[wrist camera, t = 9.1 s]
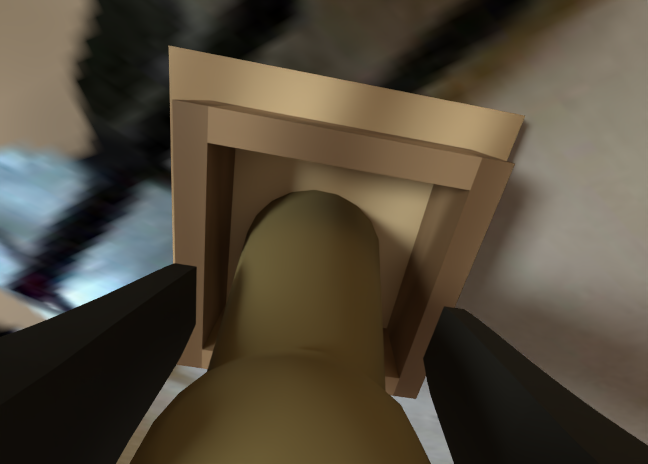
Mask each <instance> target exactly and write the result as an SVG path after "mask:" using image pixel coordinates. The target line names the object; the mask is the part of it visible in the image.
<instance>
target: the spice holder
mask: <svg viewBox="0 0 648 464" xmlns="http://www.w3.org/2000/svg"><path fill="white" fill-rule="evenodd" d="M169 76H170V126H171V175H172V225H173V264H174V263H178V264H184V265H190V266H197V287H196V325H195V328H194V330H193V332H192V334H191V336H190V339H189V341H188V343H187V345H186V347H185V349H184V351H183V354H182V356H181V358H180V359H179V361H178V363H177V365H183V366H190V367H197V368H204V369H208V366H209V363H210V359H211V356H212V352H213V349H214V346H215V342H216V339H217V335H218V332H219V328H220V325H221V321H222V318H223V314H224V311H225V308H226V304H227V301H228V297H229V294H230V290H231V287H232V283H233V280H234V276H235V273H236V269H237V266H238V263H239V259H240V256H241V252H242V249H243V245H244V242H245V238H246V235H247V232H248V230H249V228H250V226H251V224H252V222H253V220H254V218H255V217H256V215H257V214H258V213H259V212H260V211H261V210H262V209H263V208H265V207H266V206H267V205H268V204H269V203H270V202H271V201H273V200H275V199H277V198H279V197H282V196H284V195H286V194H289V193H291V192H297V191H307V190H319V191H323V192H328V193H333V194H338V195H339V196H341V197H343V198H345V199H346V200H348V201H350V202H352V203H353V204H355V205H357V206H358V207H359V208H360V210H361V211H362V212H363V213H364V214H365V215H366V216H367V217H368V218H369V220H370V221H371V222H372V225H373V227H374V230H375V232H376V234H377V237H378V239H379V257H380V279H381V301H382V323H383V345H384V367H385V389H386V392H387V393H388V394H389V395H392V396H399V397H406V398H413V399H416V398H417V395H418V393H419V391H420V388H421V386H422V384H423V381H424V379H425V376H426V372H425V367H424V361H423V357H424V355H425V352H426V350H427V347H428V345H429V342H430V340H431V337H432V335H433V332H434V330H435V327H436V325H437V322H438V320H439V317H440V315H441V312H442V310H443V307H444V306H446V307H452V308H455V305H456V303H457V300H458V298H459V296H460V293H461V291H462V289H463V286H464V284H465V281H466V279H467V277H468V274H469V272H470V270H471V267H472V265H473V262H474V260H475V258H476V255H477V253H478V250H479V248H480V246H481V243H482V241H483V239H484V236H485V234H486V231H487V229H488V227H489V224H490V222H491V220H492V217H493V215H494V212H495V210H496V208H497V205H498V203H499V201H500V198H501V196H502V193H503V191H504V189H505V186H506V184H507V182H508V179H509V177H510V174H511V172H512V170H513V167H514V165H515V164H514V163H511V162H508V161H507V159H508V157H509V154H510V152H511V149H512V147H513V144H514V142H515V139H516V137H517V135H518V132H519V130H520V127H521V125H522V122H523V120H524V117H525V116H523V115H518V114H513V113H508V112H503V111H498V110H493V109H488V108H483V107H478V106H473V105H468V104H462V103H457V102H452V101H447V100H442V99H437V98H432V97H427V96H422V95H417V94H412V93H407V92H402V91H396V90H391V89H386V88H381V87H376V86H371V85H366V84H361V83H356V82H351V81H346V80H341V79H336V78H330V77H325V76H320V75H315V74H310V73H305V72H300V71H295V70H290V69H285V68H280V67H275V66H270V65H264V64H259V63H254V62H249V61H244V60H239V59H234V58H229V57H224V56H219V55H214V54H209V53H204V52H198V51H193V50H188V49H183V48H178V47H173V46H169Z"/></svg>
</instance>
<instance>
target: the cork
mask: <svg viewBox="0 0 648 464" xmlns="http://www.w3.org/2000/svg"><path fill="white" fill-rule="evenodd" d="M130 464H431V463H430V461H429V459H428V457H427V455H426V453H425V451H424V449H423V447H422V444H421V442H420V440H419V438H418V436H417V434H416V433H415V431H414V429H413V427H412V425H411V423H410V421H409V419H408V418H407V416H406V414H405V412H404V410H403V408H402V406H401V405H400V404H399V403H398V402H397V401H396V400H395V399H394V398H392V397H391V396H390V395H389V394H388V393H387V392H386V389H385V367H384V345H383V323H382V301H381V279H380V257H379V239H378V237H377V234H376V232H375V230H374V227H373V225H372V222H371V221H370V220H369V218H368V217H367V216H366V215H365V214H364V213H363V212H362V211H361V210H360V208H359V207H358V206H357V205H355V204H353V203H352V202H350V201H348V200H346V199H345V198H343V197H341V196H339V195H338V194H333V193H328V192H323V191H319V190H307V191H297V192H291V193H289V194H286V195H284V196H282V197H279V198H277V199H275V200H273V201H271V202H270V203H269V204H268V205H267V206H266V207H265V208H263V209H262V210H261V211H260V212H259V213H258V214H257V215H256V217H255V218H254V220H253V222H252V224H251V226H250V228H249V230H248V232H247V235H246V238H245V242H244V245H243V249H242V252H241V256H240V259H239V263H238V266H237V269H236V273H235V276H234V280H233V283H232V287H231V290H230V294H229V297H228V301H227V304H226V308H225V311H224V314H223V318H222V321H221V325H220V328H219V332H218V335H217V339H216V342H215V346H214V349H213V352H212V356H211V359H210V363H209V366H208V370H207V372H206V373H205V374H204V375H202V376H201V377H200V378H198V379H197V380H196V381H194V382H193V383H192V384H190V385H189V386H188V387H186V388H185V389H184V390H183V391H181V392H180V393H179V394H178V395H177V396H176V397H175V398H174V399H173V401H172V402H171V403H170V404H169V405H168V406H167V407H166V408H165V410H164V411H163V412H162V413H161V414H160V415H159V416H158V417H157V419H156V420H155V421H154V422H153V424H152V425H151V427H150V429H149V431H148V432H147V434H146V436H145V438H144V439H143V441H142V443H141V445H140V446H139V448H138V450H137V452H136V453H135V455H134V457H133V459H132V460H131V462H130Z"/></svg>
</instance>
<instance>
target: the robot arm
mask: <svg viewBox="0 0 648 464" xmlns="http://www.w3.org/2000/svg"><path fill="white" fill-rule="evenodd" d="M196 287H197V266H190V265H184V264H178V263H174V264H171V265H169V266H166V267H164V268H162V269H160V270H157V271H155V272H153V273H151V274H149V275H147V276H145V277H143V278H140V279H138V280H136V281H134V282H132V283H130V284H128V285H126V286H123V287H121V288H119V289H117V290H115V291H113V292H111V293H108V294H106V295H104V296H102V297H100V298H97V299H95V300H93V301H90V302H88V303H86V304H83V305H81V306H79V307H76V308H74V309H72V310H69V311H67V312H65V313H62V314H60V315H57V316H55V317H53V318H50V319H48V320H45V321H43V322H40V323H38V324H35V325H33V326H30V327H27V328H25V329H22V330H19V331H17V332H14V333H11V334H8V335H6V336H3V337H0V464H116V462H117V461H118V459H119V457H120V455H121V454H122V452H123V450H124V448H125V447H126V445H127V443H128V442H129V440H130V438H131V437H132V435H133V433H134V432H135V430H136V429H137V427H138V425H139V424H140V422H141V421H142V419H143V417H144V416H145V414H146V413H147V411H148V409H149V408H150V406H151V405H152V403H153V401H154V400H155V398H156V397H157V395H158V393H159V392H160V390H161V389H162V387H163V385H164V384H165V382H166V380H167V379H168V377H169V376H170V374H171V372H172V371H173V369H174V367H175V366H176V364H177V363H178V361H179V359H180V358H181V356H182V354H183V351H184V349H185V347H186V345H187V343H188V341H189V339H190V336H191V334H192V332H193V330H194V328H195V325H196ZM423 361H424V367H425V372H426V377H427V382H428V386H429V391H430V394H431V398H432V401H433V404H434V407H435V410H436V413H437V416H438V419H439V422H440V424H441V427H442V430H443V433H444V436H445V439H446V442H447V445H448V447H449V450H450V453H451V456H452V459H453V462H454V464H648V445H646V444H645V443H643V442H642V441H640V440H639V439H637V438H636V437H634V436H633V435H631V434H630V433H628V432H627V431H625V430H624V429H622V428H621V427H619V426H618V425H616V424H615V423H613V422H612V421H610V420H609V419H608V418H606V417H605V416H603V415H602V414H600V413H599V412H598V411H596V410H595V409H593V408H592V407H590V406H589V405H588V404H586V403H585V402H584V401H582V400H581V399H579V398H578V397H577V396H575V395H574V394H573V393H571V392H570V391H569V390H567V389H566V388H565V387H563V386H562V385H561V384H559V383H558V382H557V381H555V380H554V379H553V378H551V377H550V376H549V375H548V374H546V373H545V372H544V371H542V370H541V369H540V368H539V367H537V366H536V365H535V364H533V363H532V362H531V361H530V360H528V359H527V358H526V357H525V356H523V355H522V354H521V353H520V352H518V351H517V350H516V349H515V348H513V347H512V346H511V345H510V344H509V343H507V342H506V341H505V340H504V339H502V338H501V337H500V336H499V335H497V334H496V333H495V332H494V331H492V330H491V329H490V328H489V327H487V326H486V325H485V324H484V323H482V322H481V321H480V320H478V319H477V318H476V317H474V316H473V315H472V314H470V313H469V312H467V311H466V310H464V309H458V308H452V307H446V306H444V307H443V310H442V312H441V315H440V317H439V320H438V322H437V325H436V327H435V330H434V332H433V335H432V337H431V340H430V342H429V345H428V347H427V350H426V352H425V355H424V357H423Z"/></svg>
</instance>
